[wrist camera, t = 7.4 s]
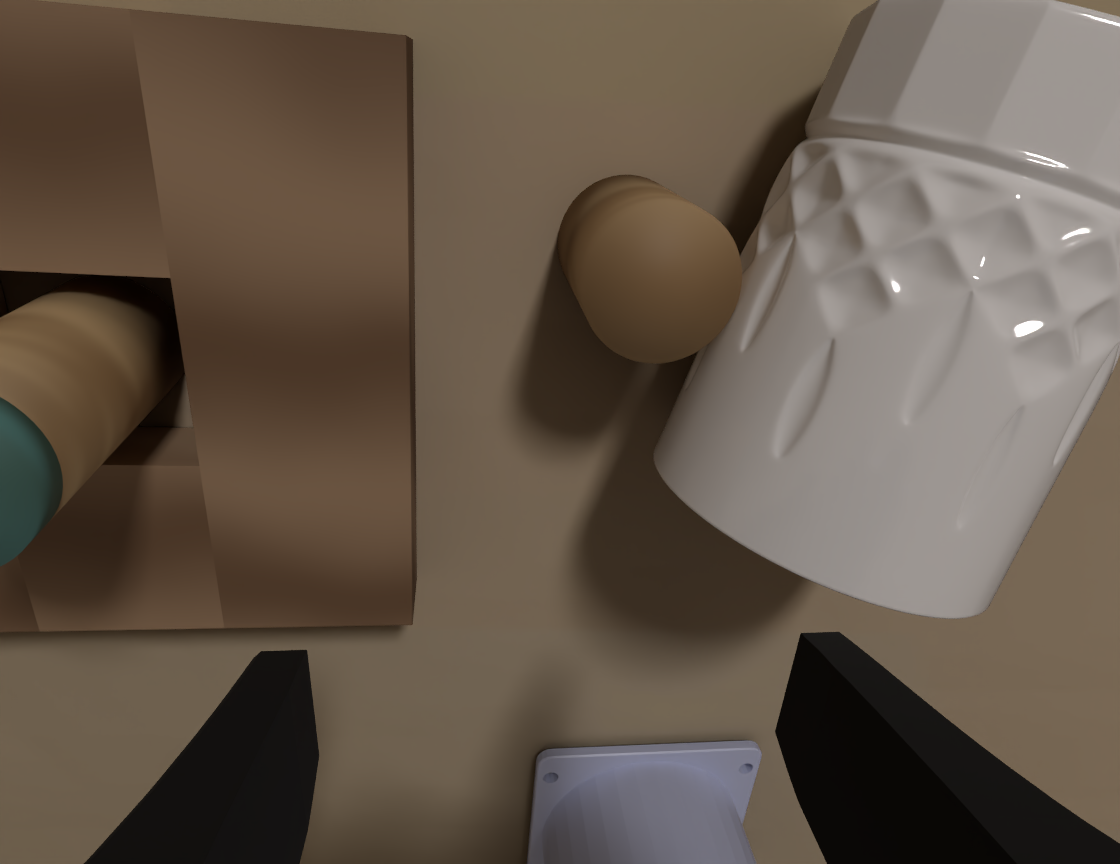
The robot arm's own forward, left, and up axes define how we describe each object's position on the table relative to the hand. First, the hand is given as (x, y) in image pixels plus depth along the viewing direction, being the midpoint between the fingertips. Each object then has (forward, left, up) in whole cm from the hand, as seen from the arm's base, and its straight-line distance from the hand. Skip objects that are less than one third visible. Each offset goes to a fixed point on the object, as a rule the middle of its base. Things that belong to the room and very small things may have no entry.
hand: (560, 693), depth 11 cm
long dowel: (+2, +10, -10) cm, 14 cm away
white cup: (+9, -9, -7) cm, 15 cm away
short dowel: (+5, -2, -10) cm, 11 cm away
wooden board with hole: (+2, +10, -10) cm, 14 cm away
